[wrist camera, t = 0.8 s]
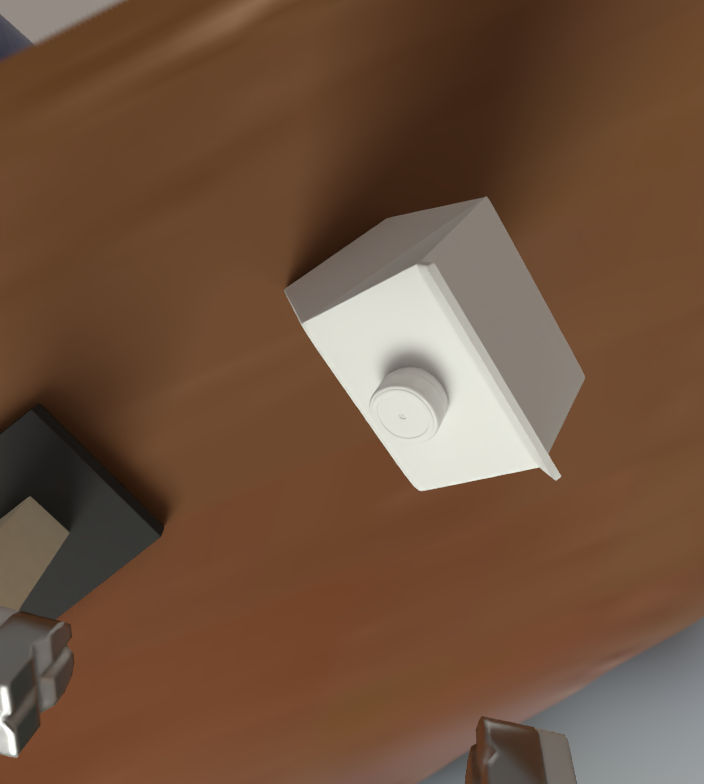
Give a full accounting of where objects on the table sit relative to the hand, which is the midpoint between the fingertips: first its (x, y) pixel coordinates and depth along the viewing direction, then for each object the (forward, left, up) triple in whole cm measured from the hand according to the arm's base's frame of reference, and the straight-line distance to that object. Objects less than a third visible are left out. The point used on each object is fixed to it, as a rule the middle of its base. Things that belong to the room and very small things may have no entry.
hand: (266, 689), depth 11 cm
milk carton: (-7, +4, -24) cm, 25 cm away
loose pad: (+11, -10, -23) cm, 28 cm away
